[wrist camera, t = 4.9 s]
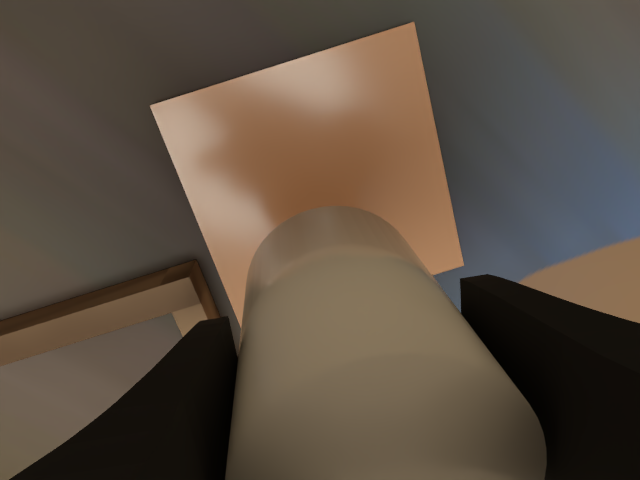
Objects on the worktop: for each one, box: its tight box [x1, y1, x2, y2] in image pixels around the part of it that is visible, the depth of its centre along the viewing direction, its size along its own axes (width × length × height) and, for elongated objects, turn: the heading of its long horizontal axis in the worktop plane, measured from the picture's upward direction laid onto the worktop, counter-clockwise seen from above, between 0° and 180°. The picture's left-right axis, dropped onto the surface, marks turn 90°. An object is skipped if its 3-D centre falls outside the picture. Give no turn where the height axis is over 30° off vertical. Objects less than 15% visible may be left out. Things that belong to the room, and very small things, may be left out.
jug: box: [225, 206, 547, 480], centre depth 11 cm, size 8×5×7 cm, turn 0°
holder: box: [0, 260, 238, 366], centre depth 21 cm, size 11×9×2 cm
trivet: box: [150, 22, 464, 327], centre depth 19 cm, size 10×10×1 cm
